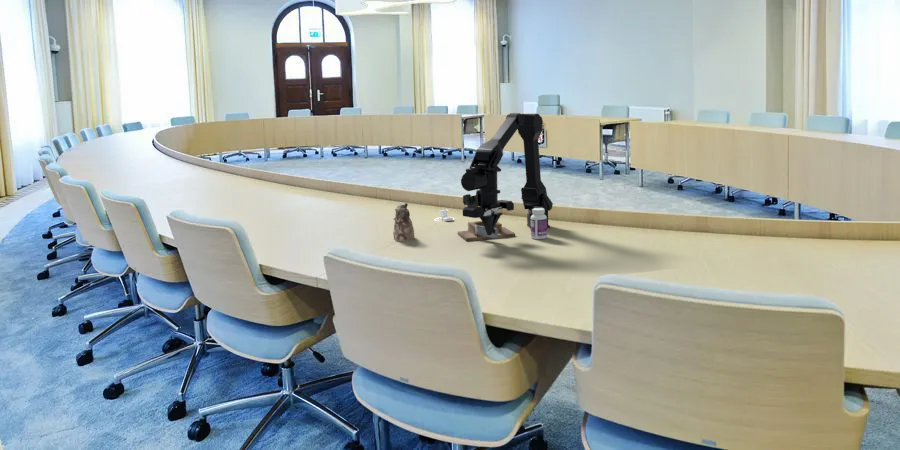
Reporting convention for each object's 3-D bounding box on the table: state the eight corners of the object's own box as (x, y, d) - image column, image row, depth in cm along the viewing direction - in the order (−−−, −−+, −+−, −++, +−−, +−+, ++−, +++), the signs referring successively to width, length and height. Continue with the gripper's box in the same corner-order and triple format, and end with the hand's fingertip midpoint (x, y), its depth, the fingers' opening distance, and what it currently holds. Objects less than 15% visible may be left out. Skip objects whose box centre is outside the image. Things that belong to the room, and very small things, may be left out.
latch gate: (498, 237, 223) (498, 228, 222) (494, 238, 222) (494, 229, 221) (477, 233, 230) (477, 224, 229) (474, 234, 229) (474, 225, 228)
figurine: (389, 239, 233) (386, 204, 231) (404, 235, 238) (402, 201, 236) (403, 242, 229) (401, 206, 226) (418, 238, 234) (417, 203, 231)
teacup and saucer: (454, 222, 259) (454, 212, 258) (433, 223, 259) (433, 212, 258) (454, 218, 267) (454, 207, 266) (434, 218, 267) (433, 208, 266)
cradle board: (504, 229, 241) (504, 218, 240) (515, 236, 230) (514, 224, 229) (457, 234, 237) (457, 223, 236) (466, 241, 226) (465, 229, 225)
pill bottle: (548, 236, 228) (548, 207, 227) (545, 239, 224) (545, 210, 222) (532, 235, 230) (532, 207, 228) (529, 239, 225) (528, 210, 223)
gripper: (489, 181, 231) (489, 227, 234) (449, 188, 218) (450, 236, 221) (514, 184, 223) (515, 231, 226) (475, 191, 210) (476, 241, 214)
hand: (489, 235), depth 222 cm, fingers closed
